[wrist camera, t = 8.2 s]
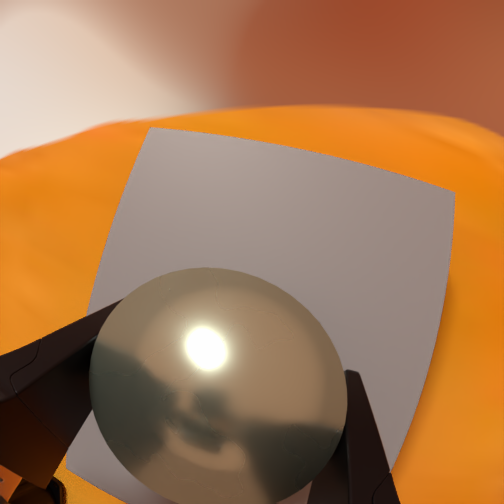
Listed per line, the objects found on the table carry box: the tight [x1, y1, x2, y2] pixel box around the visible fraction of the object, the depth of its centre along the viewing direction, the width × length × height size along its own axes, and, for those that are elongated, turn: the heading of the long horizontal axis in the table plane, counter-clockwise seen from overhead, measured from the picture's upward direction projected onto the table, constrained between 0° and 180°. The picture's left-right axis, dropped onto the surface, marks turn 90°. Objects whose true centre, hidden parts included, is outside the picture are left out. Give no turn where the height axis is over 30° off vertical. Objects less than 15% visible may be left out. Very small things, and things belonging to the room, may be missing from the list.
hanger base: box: [66, 127, 455, 504], centre depth 15 cm, size 20×16×5 cm
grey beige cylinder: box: [89, 267, 347, 504], centre depth 11 cm, size 6×6×9 cm
